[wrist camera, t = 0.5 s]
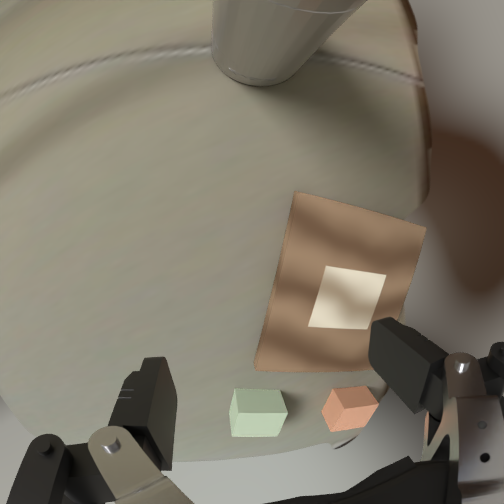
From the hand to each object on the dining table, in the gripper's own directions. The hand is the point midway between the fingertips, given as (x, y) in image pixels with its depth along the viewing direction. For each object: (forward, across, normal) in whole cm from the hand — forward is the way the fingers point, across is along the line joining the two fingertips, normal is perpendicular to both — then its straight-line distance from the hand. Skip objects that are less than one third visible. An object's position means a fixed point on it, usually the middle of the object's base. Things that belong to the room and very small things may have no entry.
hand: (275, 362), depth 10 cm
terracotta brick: (+20, -14, +24) cm, 34 cm away
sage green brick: (+20, 0, +20) cm, 28 cm away
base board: (+18, -12, +6) cm, 23 cm away
